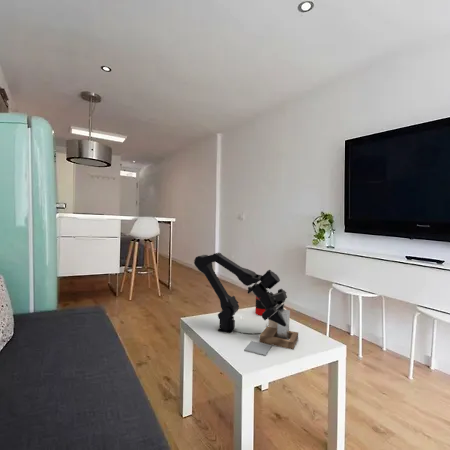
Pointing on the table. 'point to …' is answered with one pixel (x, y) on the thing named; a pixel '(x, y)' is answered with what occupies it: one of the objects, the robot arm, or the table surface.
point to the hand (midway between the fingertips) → (286, 323)
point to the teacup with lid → (273, 323)
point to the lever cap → (281, 330)
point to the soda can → (259, 308)
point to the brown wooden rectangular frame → (271, 338)
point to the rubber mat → (258, 348)
